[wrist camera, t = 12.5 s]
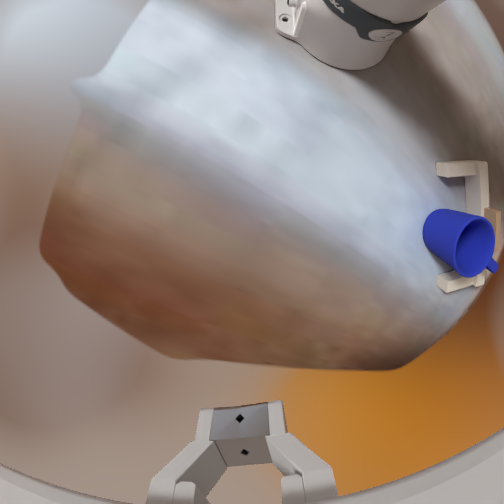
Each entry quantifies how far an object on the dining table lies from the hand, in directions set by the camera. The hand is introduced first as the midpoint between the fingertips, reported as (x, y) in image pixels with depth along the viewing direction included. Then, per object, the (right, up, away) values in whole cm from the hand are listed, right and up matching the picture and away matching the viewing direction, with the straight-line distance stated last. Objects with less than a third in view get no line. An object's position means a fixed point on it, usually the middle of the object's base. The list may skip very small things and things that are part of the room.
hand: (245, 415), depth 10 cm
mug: (+30, +9, +30) cm, 44 cm away
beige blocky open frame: (+33, +10, +30) cm, 46 cm away
